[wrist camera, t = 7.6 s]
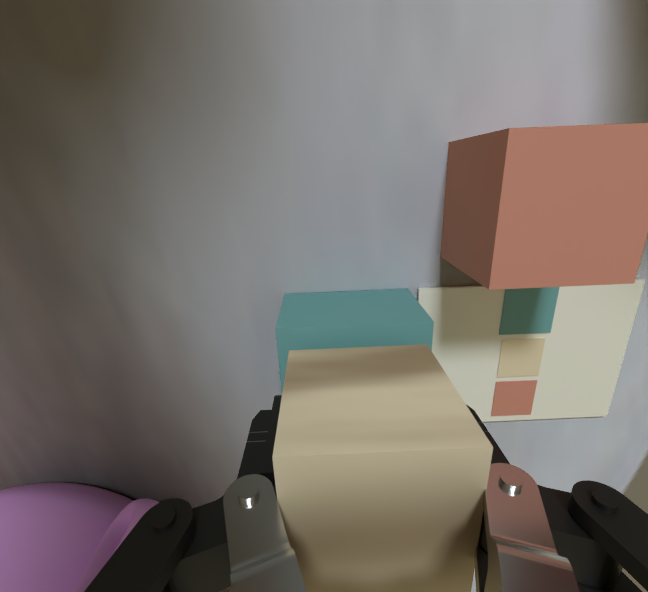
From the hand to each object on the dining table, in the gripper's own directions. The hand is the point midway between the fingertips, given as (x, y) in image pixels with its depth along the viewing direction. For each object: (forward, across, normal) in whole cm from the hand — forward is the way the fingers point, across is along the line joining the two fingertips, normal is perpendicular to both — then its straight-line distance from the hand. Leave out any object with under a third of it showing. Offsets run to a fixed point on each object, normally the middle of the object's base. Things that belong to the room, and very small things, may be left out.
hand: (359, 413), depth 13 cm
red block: (+5, -7, -7) cm, 11 cm away
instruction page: (+5, -9, +1) cm, 11 cm away
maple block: (+1, 0, 0) cm, 1 cm away
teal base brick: (+5, 0, 0) cm, 5 cm away
